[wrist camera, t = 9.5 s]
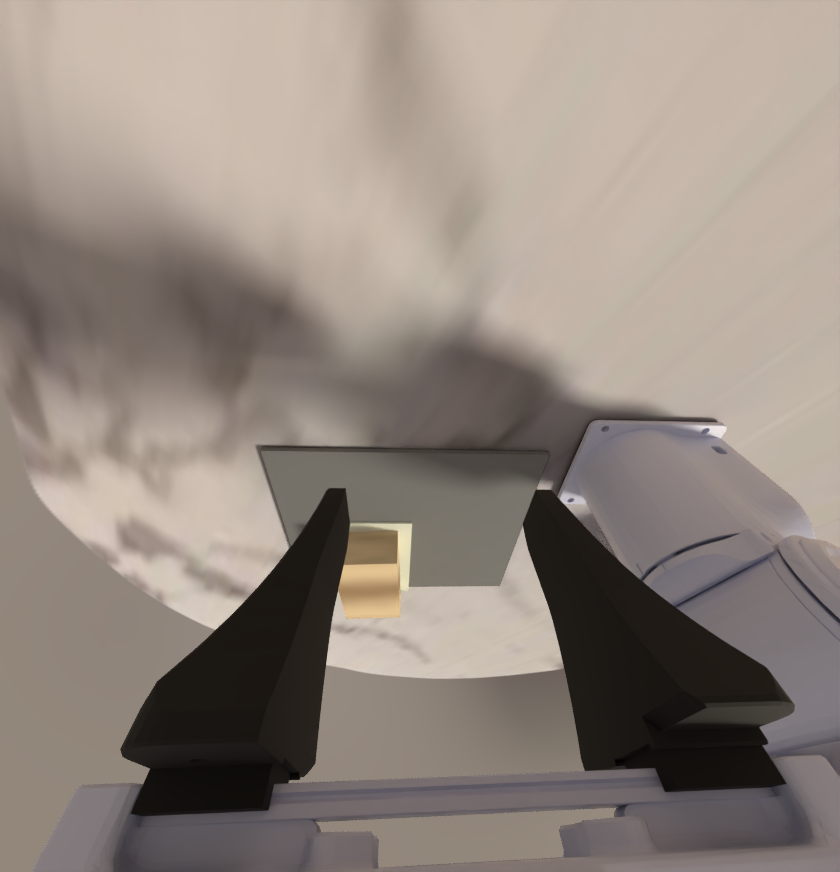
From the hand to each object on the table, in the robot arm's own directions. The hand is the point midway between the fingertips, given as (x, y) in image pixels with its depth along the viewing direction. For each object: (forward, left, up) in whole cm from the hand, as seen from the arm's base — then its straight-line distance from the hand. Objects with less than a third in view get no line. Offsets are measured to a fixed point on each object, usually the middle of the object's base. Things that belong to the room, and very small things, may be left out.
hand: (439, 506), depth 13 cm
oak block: (+4, +18, -9) cm, 21 cm away
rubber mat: (+1, +14, -9) cm, 17 cm away
